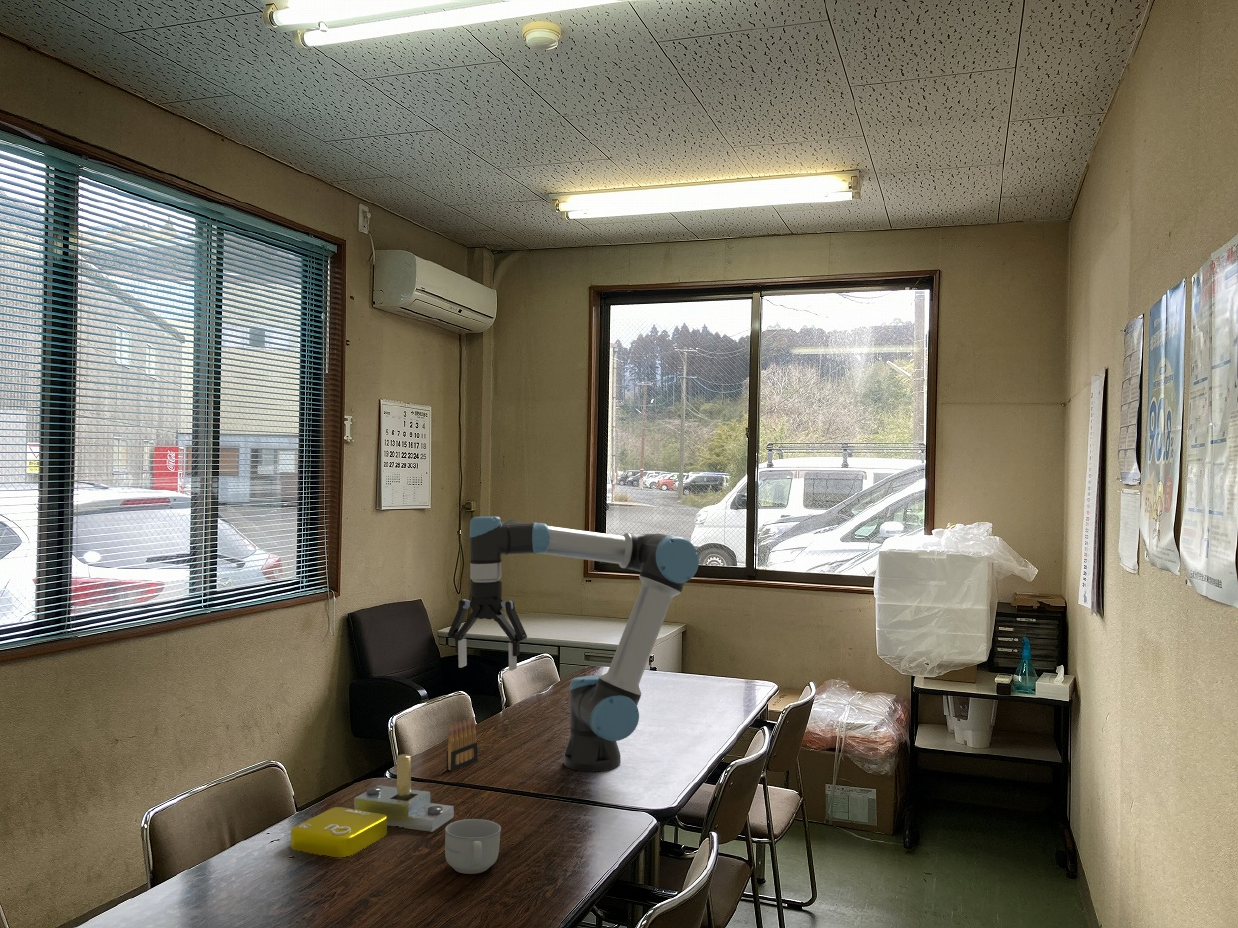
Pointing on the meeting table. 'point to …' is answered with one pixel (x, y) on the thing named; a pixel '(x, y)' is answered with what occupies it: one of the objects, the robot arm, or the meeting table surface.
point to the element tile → (338, 832)
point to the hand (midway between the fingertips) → (487, 668)
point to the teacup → (472, 845)
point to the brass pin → (404, 777)
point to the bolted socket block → (404, 808)
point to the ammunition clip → (462, 745)
